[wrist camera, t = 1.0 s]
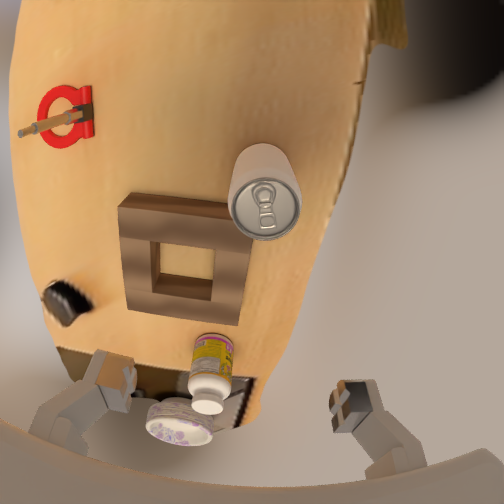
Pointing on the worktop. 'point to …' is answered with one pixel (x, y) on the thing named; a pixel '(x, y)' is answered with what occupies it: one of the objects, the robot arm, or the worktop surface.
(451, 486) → the robot arm
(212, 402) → the supplement bottle
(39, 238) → the worktop surface
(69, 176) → the worktop surface
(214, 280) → the holder
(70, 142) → the tow hook
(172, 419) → the paper bowls
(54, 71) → the worktop surface
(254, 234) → the can
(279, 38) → the worktop surface
